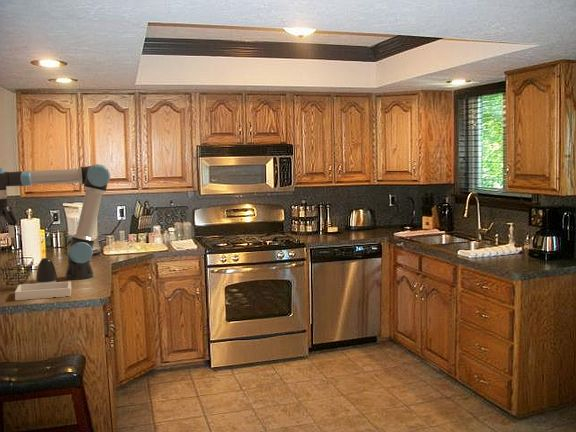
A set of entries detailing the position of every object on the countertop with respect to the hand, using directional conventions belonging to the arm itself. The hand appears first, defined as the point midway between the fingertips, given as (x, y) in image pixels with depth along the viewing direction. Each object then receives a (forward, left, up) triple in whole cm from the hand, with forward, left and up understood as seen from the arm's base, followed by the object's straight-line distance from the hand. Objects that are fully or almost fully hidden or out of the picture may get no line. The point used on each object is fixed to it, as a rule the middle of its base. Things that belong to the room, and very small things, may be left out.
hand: (2, 239), depth 306 cm
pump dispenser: (-21, +6, -25) cm, 33 cm away
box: (-21, +26, -25) cm, 41 cm away
